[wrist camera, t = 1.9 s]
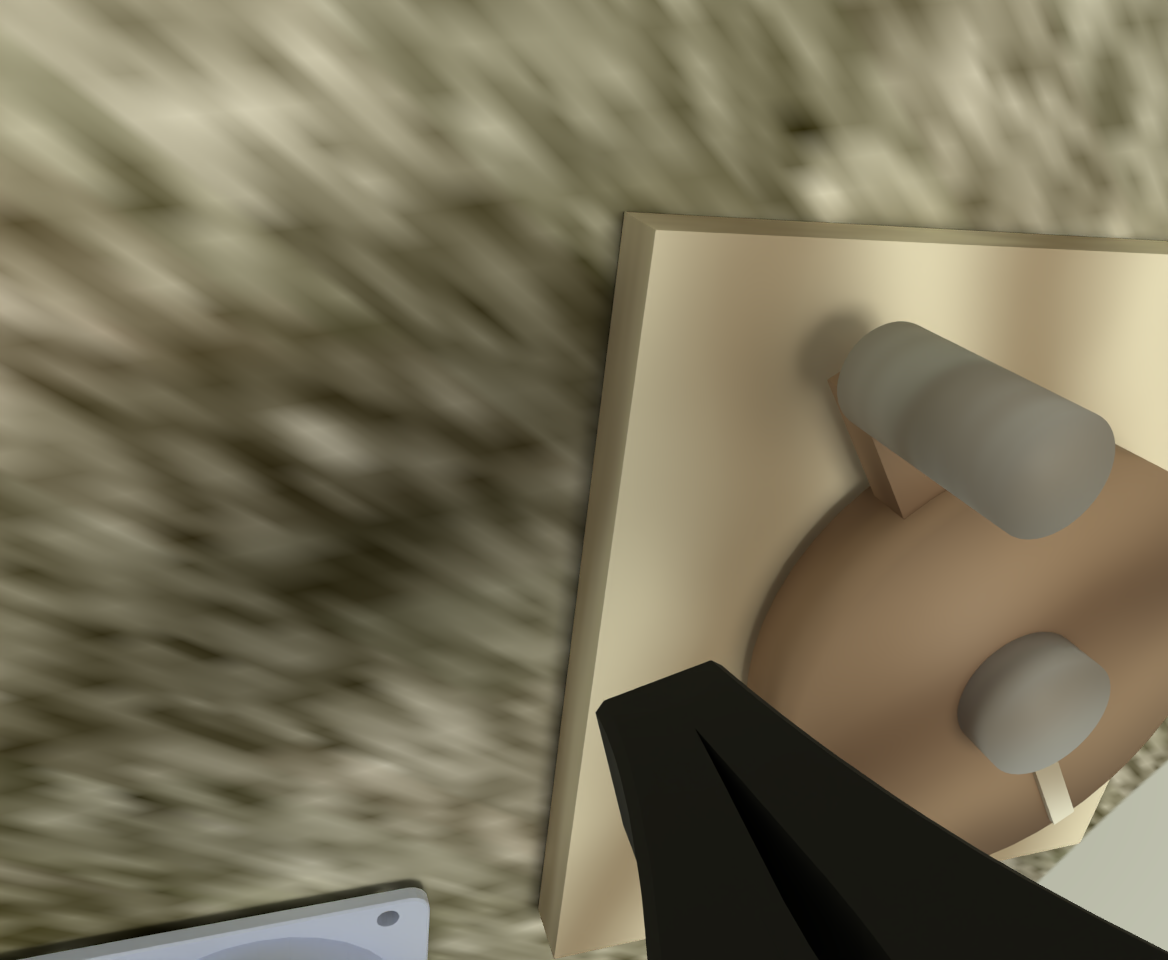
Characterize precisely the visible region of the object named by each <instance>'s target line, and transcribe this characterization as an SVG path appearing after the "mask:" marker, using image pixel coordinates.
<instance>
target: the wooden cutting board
mask: <svg viewBox="0 0 1168 960" xmlns="http://www.w3.org/2000/svg"><path fill="white" fill-rule="evenodd" d="M897 321H906V322H911V323H914V324H917V325H919V326H921V327H923V328H925V329H927V330H929V331H931V332H933V333H935V334H937V335H939V336H941V337H943V338H945V339H947V340H949V341H951V342H953V343H955V344H957V345H959V346H961V347H963V348H965V349H967V350H969V351H971V352H973V353H975V354H977V355H979V356H981V357H983V358H985V359H987V360H989V361H991V362H993V363H995V364H997V365H999V366H1001V367H1003V368H1005V369H1007V370H1009V371H1011V372H1013V373H1015V374H1017V375H1019V376H1021V377H1023V378H1025V379H1027V380H1029V381H1031V382H1033V383H1035V384H1037V385H1039V386H1041V387H1044V388H1046V389H1048V390H1050V391H1052V392H1054V393H1056V394H1058V395H1060V396H1062V397H1064V398H1066V399H1068V400H1070V401H1072V402H1074V403H1076V404H1078V405H1080V406H1082V407H1084V408H1086V409H1088V410H1090V411H1092V412H1094V413H1096V414H1098V415H1099V416H1101V417H1102V418H1104V419H1105V420H1106V421H1107V423H1108V424H1109V425H1110V427H1111V429H1112V431H1113V434H1114V438H1115V444H1117V445H1119V446H1121V447H1122V448H1124V449H1126V450H1128V451H1130V452H1132V453H1134V454H1136V455H1138V456H1140V457H1142V458H1144V459H1145V460H1147V461H1149V462H1151V463H1153V464H1155V465H1157V466H1159V467H1161V468H1163V469H1165V470H1167V471H1168V241H1156V240H1138V239H1119V238H1101V237H1082V236H1064V235H1045V234H1027V233H1008V232H990V231H971V230H953V229H934V228H916V227H897V226H879V225H860V224H842V223H823V222H805V221H786V220H768V219H749V218H731V217H712V216H694V215H675V214H657V213H638V212H624V220H623V228H622V236H621V244H620V252H619V260H618V268H617V276H616V285H615V293H614V301H613V309H612V317H611V325H610V333H609V341H608V349H607V357H606V365H605V373H604V381H603V389H602V398H601V406H600V414H599V422H598V430H597V438H596V446H595V454H594V462H593V470H592V478H591V486H590V494H589V502H588V511H587V519H586V527H585V535H584V543H583V551H582V559H581V567H580V575H579V583H578V591H577V599H576V607H575V615H574V624H573V632H572V640H571V648H570V656H569V664H568V672H567V680H566V688H565V696H564V704H563V712H562V720H561V728H560V737H559V745H558V753H557V761H556V769H555V777H554V785H553V793H552V801H551V809H550V817H549V825H548V833H547V842H546V850H545V858H544V866H543V874H542V882H541V890H540V898H539V906H538V910H539V913H540V916H541V919H542V922H543V926H544V929H545V932H546V935H547V938H548V941H549V944H550V948H551V951H552V954H553V957H554V959H556V958H561V957H565V956H570V955H574V954H579V953H584V952H588V951H593V950H597V949H602V948H606V947H611V946H615V945H620V944H624V943H629V942H633V941H638V940H643V939H646V937H645V926H644V916H643V905H642V896H641V888H640V880H639V874H638V868H637V862H636V859H635V856H634V853H633V850H632V847H631V845H630V842H629V839H628V837H627V834H626V832H625V829H624V826H623V823H622V818H621V814H620V810H619V806H618V802H617V798H616V794H615V790H614V786H613V782H612V778H611V774H610V770H609V766H608V762H607V758H606V754H605V749H604V745H603V741H602V737H601V733H600V729H599V725H598V721H597V717H596V713H595V712H596V711H597V709H598V708H599V707H600V705H601V704H602V702H603V701H604V700H607V699H609V698H612V697H614V696H617V695H620V694H622V693H625V692H628V691H630V690H633V689H636V688H638V687H641V686H644V685H646V684H649V683H652V682H654V681H657V680H659V679H662V678H665V677H667V676H670V675H673V674H675V673H678V672H681V671H683V670H686V669H689V668H691V667H694V666H697V665H699V664H702V663H705V662H707V661H710V660H712V661H714V662H716V663H718V664H721V665H722V666H723V667H725V668H726V669H727V670H728V671H729V672H730V673H732V674H733V675H734V676H735V677H736V678H738V679H739V680H740V681H741V682H742V683H744V684H745V685H746V686H747V679H748V673H749V668H750V663H751V659H752V654H753V650H754V647H755V644H756V641H757V638H758V635H759V632H760V629H761V626H762V623H763V621H764V619H765V617H766V615H767V613H768V611H769V609H770V607H771V604H772V602H773V600H774V598H775V596H776V594H777V593H778V591H779V589H780V588H781V586H782V584H783V583H784V581H785V580H786V578H787V576H788V575H789V573H790V571H791V570H792V568H793V567H794V565H795V564H796V563H797V561H798V560H799V559H800V557H801V556H802V555H803V554H804V552H805V551H806V550H807V548H808V547H809V546H810V544H811V543H812V542H813V540H814V539H815V538H816V537H817V536H818V535H819V534H820V533H821V532H822V531H823V529H824V528H825V527H826V526H827V525H828V524H829V523H830V522H831V521H832V520H833V519H834V518H835V517H836V516H837V514H838V513H839V512H841V511H842V510H843V509H844V508H845V507H846V506H847V505H848V504H850V503H851V502H852V501H853V500H854V499H855V498H856V497H857V496H859V495H860V494H861V493H862V492H863V491H864V490H865V489H867V488H868V487H869V486H870V484H869V481H868V479H867V477H866V474H865V472H864V469H863V467H862V464H861V462H860V459H859V457H858V454H857V452H856V450H855V447H854V445H853V442H852V440H851V437H850V435H849V432H848V430H847V427H846V425H845V423H844V420H843V418H842V415H841V413H840V410H839V408H838V405H837V403H836V400H835V398H834V396H833V393H832V391H831V388H830V386H829V383H828V381H827V380H828V379H829V378H831V377H832V376H834V375H836V374H837V373H839V372H840V371H841V368H842V366H843V363H844V361H845V359H846V358H847V356H848V354H849V353H850V351H851V350H852V349H853V347H854V346H855V345H856V344H857V343H858V342H859V341H860V340H861V339H862V338H863V337H864V336H865V335H866V334H868V333H869V332H871V331H872V330H874V329H876V328H877V327H879V326H882V325H884V324H887V323H891V322H897ZM1108 782H1109V780H1108V781H1107V782H1106V783H1105V784H1104V785H1103V786H1101V787H1100V788H1099V789H1098V790H1097V791H1095V792H1094V793H1093V794H1092V795H1091V796H1089V797H1088V798H1087V799H1086V800H1084V801H1083V802H1082V803H1080V804H1079V805H1078V806H1076V807H1075V808H1073V809H1074V812H1073V813H1071V814H1070V815H1068V816H1067V817H1065V818H1064V819H1062V820H1061V821H1059V822H1058V823H1056V824H1055V825H1054V824H1053V823H1051V824H1050V825H1048V826H1046V827H1045V828H1043V829H1041V830H1040V831H1038V832H1037V833H1035V834H1033V835H1031V836H1029V837H1027V838H1025V839H1023V840H1021V841H1019V842H1018V843H1016V844H1014V845H1012V846H1009V847H1007V848H1005V849H1002V850H1000V851H998V852H996V853H993V854H991V855H989V856H991V857H993V858H994V859H996V860H998V861H1001V860H1006V859H1010V858H1015V857H1019V856H1024V855H1028V854H1033V853H1037V852H1042V851H1047V850H1051V849H1056V848H1060V847H1065V846H1069V845H1074V844H1078V843H1080V841H1081V839H1082V837H1083V835H1084V833H1085V831H1086V829H1087V827H1088V824H1089V822H1090V820H1091V818H1092V816H1093V814H1094V812H1095V810H1096V807H1097V805H1098V803H1099V801H1100V799H1101V797H1102V795H1103V793H1104V790H1105V788H1106V786H1107V784H1108Z"/></svg>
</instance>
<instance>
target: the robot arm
mask: <svg viewBox="0 0 1168 960" xmlns="http://www.w3.org/2000/svg"><path fill="white" fill-rule="evenodd" d="M595 713H596V717H597V721H598V725H599V729H600V733H601V737H602V741H603V745H604V749H605V754H606V758H607V762H608V766H609V770H610V774H611V778H612V782H613V786H614V790H615V794H616V798H617V802H618V806H619V810H620V814H621V818H622V823H623V826H624V829H625V832H626V834H627V837H628V839H629V842H630V845H631V847H632V850H633V853H634V856H635V859H636V862H637V868H638V874H639V880H640V888H641V896H642V905H643V916H644V926H645V937H646V948H647V959H648V960H1168V952H1167V951H1165V950H1163V949H1161V948H1159V947H1157V946H1155V945H1154V944H1151V943H1149V942H1148V941H1146V940H1144V939H1142V938H1140V937H1138V936H1136V935H1134V934H1132V933H1130V932H1128V931H1126V930H1124V929H1122V928H1120V927H1118V926H1116V925H1114V924H1112V923H1110V922H1108V921H1106V920H1104V919H1102V918H1100V917H1098V916H1096V915H1095V914H1093V913H1091V912H1089V911H1087V910H1085V909H1083V908H1082V907H1080V906H1078V905H1076V904H1074V903H1072V902H1071V901H1069V900H1067V899H1065V898H1063V897H1061V896H1059V895H1057V894H1056V893H1054V892H1052V891H1050V890H1049V889H1047V888H1045V887H1043V886H1041V885H1039V884H1038V883H1036V882H1034V881H1032V880H1031V879H1029V878H1027V877H1025V876H1024V875H1022V874H1020V873H1018V872H1017V871H1015V870H1013V869H1011V868H1010V867H1008V866H1006V865H1005V864H1003V863H1001V862H999V861H998V860H996V859H994V858H993V857H991V856H989V855H988V854H986V853H984V852H983V851H981V850H979V849H978V848H976V847H974V846H973V845H971V844H970V843H968V842H966V841H965V840H963V839H962V838H960V837H958V836H957V835H955V834H954V833H952V832H950V831H949V830H947V829H946V828H944V827H942V826H941V825H939V824H938V823H936V822H934V821H933V820H931V819H930V818H928V817H926V816H925V815H923V814H922V813H920V812H919V811H917V810H916V809H914V808H913V807H911V806H910V805H908V804H907V803H905V802H904V801H902V800H901V799H899V798H898V797H896V796H894V795H893V794H892V793H890V792H889V791H887V790H886V789H884V788H883V787H882V786H880V785H879V784H877V783H876V782H874V781H873V780H871V779H870V778H869V777H867V776H866V775H864V774H863V773H861V772H860V771H859V770H857V769H856V768H854V767H853V766H851V765H850V764H848V763H847V762H846V761H844V760H843V759H841V758H840V757H838V756H837V755H836V754H834V753H833V752H832V751H830V750H829V749H827V748H826V747H825V746H823V745H822V744H821V743H819V742H818V741H817V740H815V739H814V738H812V737H811V736H810V735H809V734H807V733H806V732H805V731H803V730H802V729H801V728H799V727H798V726H797V725H795V724H794V723H793V722H791V721H790V720H789V719H787V718H786V717H785V716H784V715H782V714H781V713H780V712H778V711H777V710H776V709H775V708H773V707H772V706H771V705H770V704H768V703H767V702H766V701H765V700H763V699H762V698H761V697H760V696H758V695H757V694H756V693H755V692H753V691H752V690H751V689H750V688H748V687H747V686H746V685H745V684H744V683H742V682H741V681H740V680H739V679H738V678H736V677H735V676H734V675H733V674H732V673H730V672H729V671H728V670H727V669H726V668H725V667H723V666H722V665H721V664H718V663H716V662H714V661H712V660H710V661H707V662H705V663H702V664H699V665H697V666H694V667H691V668H689V669H686V670H683V671H681V672H678V673H675V674H673V675H670V676H667V677H665V678H662V679H659V680H657V681H654V682H652V683H649V684H646V685H644V686H641V687H638V688H636V689H633V690H630V691H628V692H625V693H622V694H620V695H617V696H614V697H612V698H609V699H607V700H604V701H603V702H602V704H601V705H600V707H599V708H598V709H597V711H596V712H595ZM386 911H388V912H386ZM429 916H430V907H429V902H428V897H427V893H426V892H424V891H423V890H422V889H419V888H415V887H411V888H403V889H397V890H392V891H387V892H381V893H376V894H370V895H365V896H359V897H354V898H349V899H343V900H338V901H332V902H327V903H321V904H316V905H311V906H305V907H300V908H294V909H289V910H283V911H278V912H273V913H267V914H262V915H256V916H251V917H246V918H240V919H235V920H229V921H224V922H218V923H213V924H208V925H202V926H197V927H191V928H186V929H180V930H175V931H170V932H164V933H159V934H153V935H148V936H142V937H137V938H132V939H126V940H121V941H115V942H110V943H104V944H99V945H94V946H88V947H83V948H77V949H72V950H67V951H61V952H56V953H50V954H45V955H39V956H34V957H29V958H23V959H18V960H427V956H428V936H429Z"/></svg>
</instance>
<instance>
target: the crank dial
mask: <svg viewBox="0 0 1168 960" xmlns="http://www.w3.org/2000/svg"><path fill="white" fill-rule="evenodd" d="M827 381H828V383H829V386H830V388H831V391H832V393H833V396H834V398H835V400H836V403H837V405H838V408H839V410H840V413H841V415H842V418H843V420H844V423H845V425H846V427H847V430H848V432H849V435H850V437H851V440H852V442H853V445H854V447H855V450H856V452H857V454H858V457H859V459H860V462H861V464H862V467H863V469H864V472H865V474H866V477H867V479H868V481H869V484H870V486H869V487H868V488H867V489H865V490H864V491H863V492H862V493H861V494H860V495H859V496H857V497H856V498H855V499H854V500H853V501H852V502H851V503H850V504H848V505H847V506H846V507H845V508H844V509H843V510H842V511H841V512H839V513H838V514H837V516H836V517H835V518H834V519H833V520H832V521H831V522H830V523H829V524H828V525H827V526H826V527H825V528H824V529H823V531H822V532H821V533H820V534H819V535H818V536H817V537H816V538H815V539H814V540H813V542H812V543H811V544H810V546H809V547H808V548H807V550H806V551H805V552H804V554H803V555H802V556H801V557H800V559H799V560H798V561H797V563H796V564H795V565H794V567H793V568H792V570H791V571H790V573H789V575H788V576H787V578H786V580H785V581H784V583H783V584H782V586H781V588H780V589H779V591H778V593H777V594H776V596H775V598H774V600H773V602H772V604H771V607H770V609H769V611H768V613H767V615H766V617H765V619H764V621H763V623H762V626H761V629H760V632H759V635H758V638H757V641H756V644H755V647H754V650H753V654H752V659H751V663H750V668H749V673H748V679H747V687H748V688H750V689H751V690H752V691H753V692H755V693H756V694H757V695H758V696H760V697H761V698H762V699H763V700H765V701H766V702H767V703H768V704H770V705H771V706H772V707H773V708H775V709H776V710H777V711H778V712H780V713H781V714H782V715H784V716H785V717H786V718H787V719H789V720H790V721H791V722H793V723H794V724H795V725H797V726H798V727H799V728H801V729H802V730H803V731H805V732H806V733H807V734H809V735H810V736H811V737H812V738H814V739H815V740H817V741H818V742H819V743H821V744H822V745H823V746H825V747H826V748H827V749H829V750H830V751H832V752H833V753H834V754H836V755H837V756H838V757H840V758H841V759H843V760H844V761H846V762H847V763H848V764H850V765H851V766H853V767H854V768H856V769H857V770H859V771H860V772H861V773H863V774H864V775H866V776H867V777H869V778H870V779H871V780H873V781H874V782H876V783H877V784H879V785H880V786H882V787H883V788H884V789H886V790H887V791H889V792H890V793H892V794H893V795H894V796H896V797H898V798H899V799H901V800H902V801H904V802H905V803H907V804H908V805H910V806H911V807H913V808H914V809H916V810H917V811H919V812H920V813H922V814H923V815H925V816H926V817H928V818H930V819H931V820H933V821H934V822H936V823H938V824H939V825H941V826H942V827H944V828H946V829H947V830H949V831H950V832H952V833H954V834H955V835H957V836H958V837H960V838H962V839H963V840H965V841H966V842H968V843H970V844H971V845H973V846H974V847H976V848H978V849H979V850H981V851H983V852H984V853H986V854H988V855H991V854H993V853H996V852H998V851H1000V850H1002V849H1005V848H1007V847H1009V846H1012V845H1014V844H1016V843H1018V842H1019V841H1021V840H1023V839H1025V838H1027V837H1029V836H1031V835H1033V834H1035V833H1037V832H1038V831H1040V830H1041V829H1043V828H1045V827H1046V826H1048V825H1050V824H1051V823H1053V824H1054V825H1055V824H1056V823H1058V822H1059V821H1061V820H1062V819H1064V818H1065V817H1067V816H1068V815H1070V814H1071V813H1073V812H1074V809H1073V808H1075V807H1076V806H1078V805H1079V804H1080V803H1082V802H1083V801H1084V800H1086V799H1087V798H1088V797H1089V796H1091V795H1092V794H1093V793H1094V792H1095V791H1097V790H1098V789H1099V788H1100V787H1101V786H1103V785H1104V784H1105V783H1106V782H1107V781H1108V780H1110V779H1111V778H1112V777H1113V776H1114V775H1115V774H1116V773H1117V772H1118V771H1119V770H1120V769H1121V768H1122V767H1123V766H1124V765H1125V764H1126V763H1128V762H1129V760H1130V759H1131V758H1132V757H1133V756H1134V755H1135V754H1136V753H1137V752H1138V751H1139V750H1140V749H1141V747H1142V746H1143V745H1144V744H1145V743H1146V742H1147V741H1148V740H1149V739H1150V737H1151V736H1152V735H1153V734H1154V732H1155V731H1156V730H1157V729H1158V727H1159V726H1160V725H1161V724H1162V722H1163V721H1164V720H1165V719H1166V717H1167V716H1168V471H1167V470H1165V469H1163V468H1161V467H1159V466H1157V465H1155V464H1153V463H1151V462H1149V461H1147V460H1145V459H1144V458H1142V457H1140V456H1138V455H1136V454H1134V453H1132V452H1130V451H1128V450H1126V449H1124V448H1122V447H1121V446H1119V445H1117V444H1115V438H1114V434H1113V431H1112V429H1111V427H1110V425H1109V424H1108V423H1107V421H1106V420H1105V419H1104V418H1102V417H1101V416H1099V415H1098V414H1096V413H1094V412H1092V411H1090V410H1088V409H1086V408H1084V407H1082V406H1080V405H1078V404H1076V403H1074V402H1072V401H1070V400H1068V399H1066V398H1064V397H1062V396H1060V395H1058V394H1056V393H1054V392H1052V391H1050V390H1048V389H1046V388H1044V387H1041V386H1039V385H1037V384H1035V383H1033V382H1031V381H1029V380H1027V379H1025V378H1023V377H1021V376H1019V375H1017V374H1015V373H1013V372H1011V371H1009V370H1007V369H1005V368H1003V367H1001V366H999V365H997V364H995V363H993V362H991V361H989V360H987V359H985V358H983V357H981V356H979V355H977V354H975V353H973V352H971V351H969V350H967V349H965V348H963V347H961V346H959V345H957V344H955V343H953V342H951V341H949V340H947V339H945V338H943V337H941V336H939V335H937V334H935V333H933V332H931V331H929V330H927V329H925V328H923V327H921V326H919V325H917V324H914V323H911V322H906V321H897V322H891V323H887V324H884V325H882V326H879V327H877V328H876V329H874V330H872V331H871V332H869V333H868V334H866V335H865V336H864V337H863V338H862V339H861V340H860V341H859V342H858V343H857V344H856V345H855V346H854V347H853V349H852V350H851V351H850V353H849V354H848V356H847V358H846V359H845V361H844V363H843V366H842V368H841V371H840V372H839V373H837V374H836V375H834V376H832V377H831V378H829V379H828V380H827Z"/></svg>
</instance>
